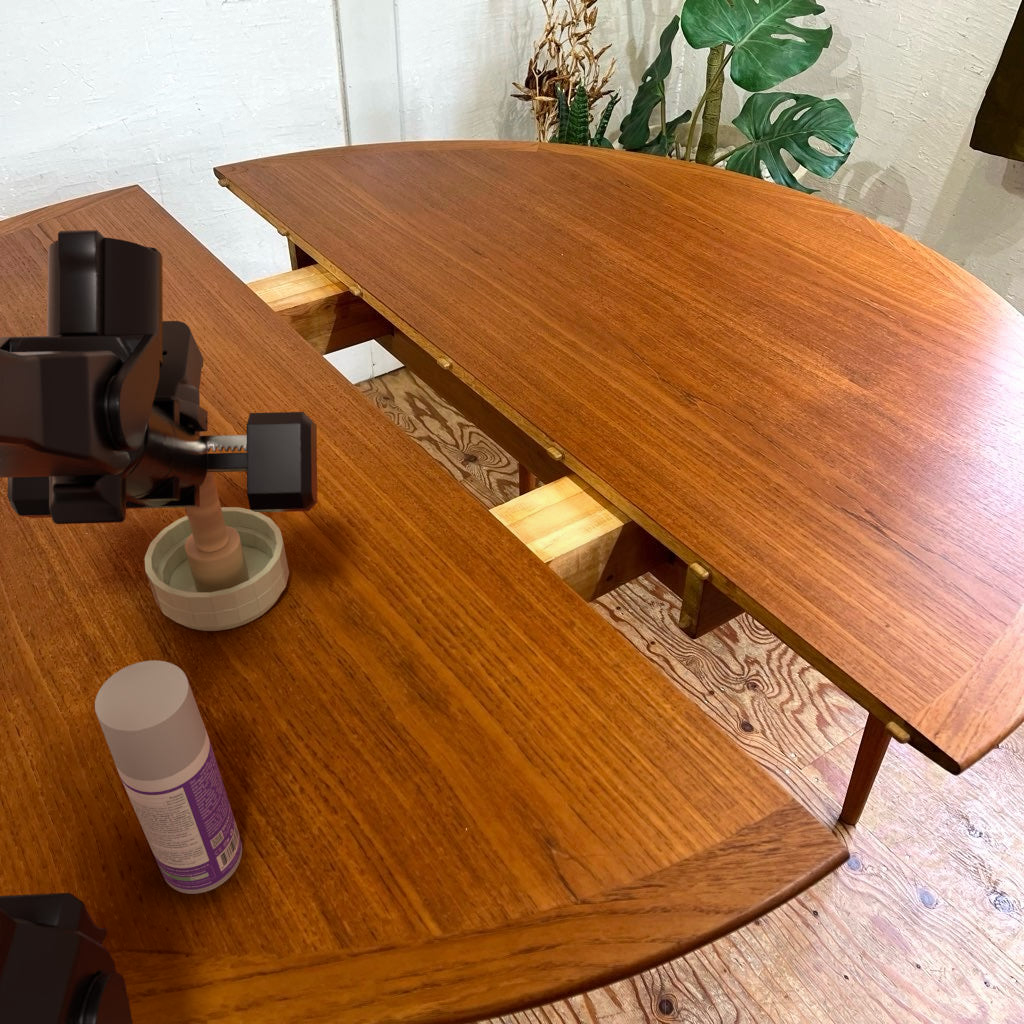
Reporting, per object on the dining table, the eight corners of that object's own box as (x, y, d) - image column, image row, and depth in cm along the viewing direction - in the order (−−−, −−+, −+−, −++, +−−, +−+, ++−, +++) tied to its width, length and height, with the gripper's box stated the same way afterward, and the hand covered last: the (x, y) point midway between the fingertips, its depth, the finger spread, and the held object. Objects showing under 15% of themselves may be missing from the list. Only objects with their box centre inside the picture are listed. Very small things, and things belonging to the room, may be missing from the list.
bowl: (249, 648, 69) (240, 610, 67) (130, 618, 72) (116, 579, 69) (312, 559, 77) (305, 521, 74) (201, 534, 79) (191, 496, 76)
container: (216, 807, 59) (161, 643, 50) (258, 857, 57) (209, 694, 47) (146, 856, 57) (74, 693, 47) (187, 910, 54) (120, 750, 45)
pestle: (258, 582, 74) (210, 369, 61) (210, 606, 72) (150, 391, 59) (233, 555, 76) (181, 344, 64) (186, 578, 74) (123, 365, 62)
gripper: (291, 304, 55) (332, 368, 70) (-42, 309, 54) (73, 373, 70) (293, 497, 54) (334, 520, 69) (-47, 505, 53) (71, 526, 69)
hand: (203, 480), depth 69 cm, fingers open, 9 cm apart
